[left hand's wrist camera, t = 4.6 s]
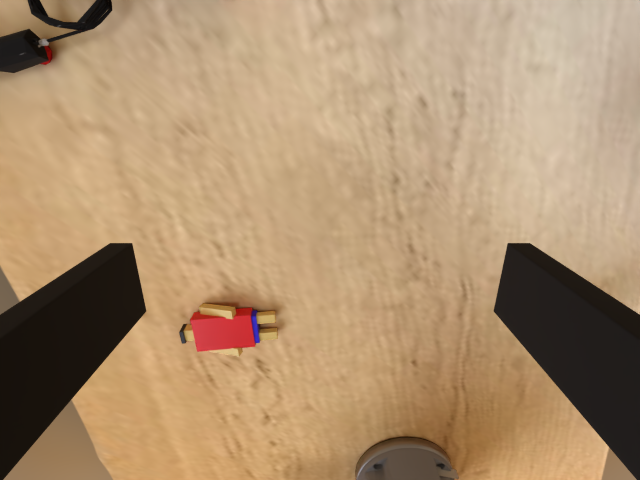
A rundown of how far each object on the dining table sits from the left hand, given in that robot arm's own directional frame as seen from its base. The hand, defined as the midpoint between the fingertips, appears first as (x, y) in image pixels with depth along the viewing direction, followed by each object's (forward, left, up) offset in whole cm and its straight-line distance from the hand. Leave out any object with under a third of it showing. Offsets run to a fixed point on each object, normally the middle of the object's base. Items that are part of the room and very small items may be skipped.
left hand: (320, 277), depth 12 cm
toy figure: (-21, +12, -28) cm, 37 cm away
